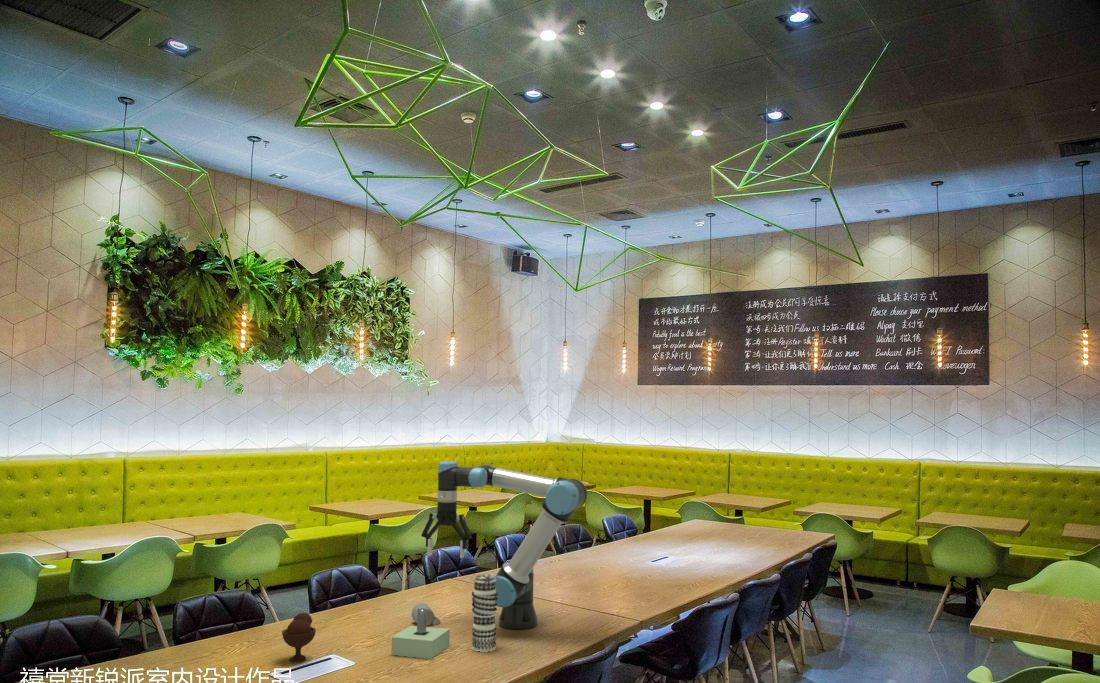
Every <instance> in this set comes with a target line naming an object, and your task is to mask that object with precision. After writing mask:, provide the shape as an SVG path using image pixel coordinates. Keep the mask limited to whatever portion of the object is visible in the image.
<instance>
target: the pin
mask: <svg viewBox="0 0 1100 683" xmlns="http://www.w3.org/2000/svg"><path fill="white" fill-rule="evenodd" d="M426 614H427V609H424V608H421V609H417V623H416V626H417V635H426V627H427V626H426Z"/></svg>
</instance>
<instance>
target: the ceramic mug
mask: <svg viewBox="0 0 1100 683" xmlns="http://www.w3.org/2000/svg"><path fill="white" fill-rule="evenodd" d="M421 608H424V609H427V614H426V627H431V625H432V624H435V625H439V624H441V619H440V618H438V617H437V616H435V615H434V614H435V612H434V611H433V610H432V608H431V607H430V606H429V605H428V604H427V603H425V602H419V603H417V604H416V605H415V606H414V607H413V608H412V610H411V618H412V620H413V621H414V623H416V624H417V609H421Z"/></svg>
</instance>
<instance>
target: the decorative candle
mask: <svg viewBox="0 0 1100 683" xmlns="http://www.w3.org/2000/svg"><path fill="white" fill-rule="evenodd" d="M494 577H495V576H493V574H479V575H476V577H475V578H474V579H473V582H474V583H473V584H474V585H473V586H474V587H473V591H471V596H472V598H471V602H472V603H471V605H472V609H471V610H472V616H473V624H472V626H473V627H472V629H471V630H472V633H471V634H472V638H471V640H472V642H471V646H472V647H471V650H472V649H473V650H472V651H474V650H475V651H474V652H477V651H480V652H479V653H489V652H488V651H490V652H493V650H494V651H495V650H496V649H497V647H496V646H497V637H496V635H497V631H496V630H497V628H496V615H497V612H496V611H497V610H498V608H497V607H498V606H497V603H496V602H495V601H496V600H497V599H498V598H497V597H495V596H497V595H498V593H496V588H495V581H496V579H494Z"/></svg>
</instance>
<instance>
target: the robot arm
mask: <svg viewBox="0 0 1100 683" xmlns="http://www.w3.org/2000/svg"><path fill="white" fill-rule="evenodd" d="M437 469H438V470H437V501H438V502H437V513H435V512H431V513H429V516H428V517H429V518H428V520H427V523H426V524H425V527H424V529H422V533H421V537H423V538H425V547H426V548H427V557H431V556H433V540H434V539H433V535H434V534H435V532H436V531H437V530H438V529H439V528H440V527H441V526H442V527H443V526H447V527H448V526H449V527H450V526H451V527H452V528H453V530H455V532H456V534H457V535H458V536H459V537H460V539H461V540H460V541H459V542H460V544H459V546H460V547H459V558H460V559H463V558H465V552H466V549H468V548H467V547H468V540H470V539H472V538H473V537H472V536H473V535H472V533H471V531H470V529H469V526H468V524H467V522H466V519H465V518H466V517H465V514H464V513H461V514H457V510H458V509H457V508H458V506H457V505H458V504H457V500H458V487H464V488H465V487H467V488H475V489H476V488H483V487H485V486H490V487H495V488H501V489H505V490H511V491H515V492H520V493H525V494H530V495H534V496H540V497H544V500H543V502H542V503H541V510H542V511H541V512H540V514H539V515H538V517H537V519H536V520H535V522H534V523H533V525H532V527H530V530H529V531H528V533H527V534H526V536H525V538H524V539H523V540H522V541H521V544H520V545H519V547H518V548H517V550H515V551H516V552H515V553H514V554H513V555H512V557H511V559H510V561H509V562H504V563H503V564H502V566H501V567H500V568H499V569H498V572H497V573H496V574H495V576H493V577H494V579H496V581H495V588H496V593H498V595H497V596H495V597H497V598H498V599H497V600H496V601H495V602H496V603H497V606H496V607H498V608H501V611H500V614H499V617H498V625H499V627H502V628H504V629H509V630H528V629H531V628H535V627H536V626H537V625H538V616H537V613H536V609H535V606H534V578H535V577H534V576H535V573H534V567H535V566H536V565H537V562H538V561H539V560H540V559H541V556H542V555H543V554H544V552H545V550H546V549H547V547H548V545H549V544H550V543H551V541H552V540H553V538H554V536H555V534H556V533H557V532H558V530H559V528H560V527H561V525H562V524H567V523H568V522H569V520H570V519H571V517H572V516H573V515H574V513H575V511H576V510H577V509H579V508H582V507H583V506H584V504H585V503H586V502H587V498H588V489H587V487H586V485H585V484H584V483H583V482H582V481H580V480H579V479H576V478H568V477H566V478H564V477H561V476H560V477H559V476H557V477H556V478H551V477H546V476H542V475H536V474H531V473H526V472H521V471H515V470H510V469H507V468H506V469H505V468H500V467H494V466H493V465H490V464H483V465H477V466H472V467H470V466H469V467H467V466H466V467H465V466H464V467H463V466H458V462H457V461H451V460H450V461H448V460H446V461H440V462H439V463H438V468H437ZM435 519H437V521H436V522H435V525H434V526H432V525H433V523H434V520H435ZM457 520H458V521H459V523H458V522H457ZM459 524H460V525H459ZM460 526H461V527H460ZM431 527H432V528H431Z"/></svg>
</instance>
